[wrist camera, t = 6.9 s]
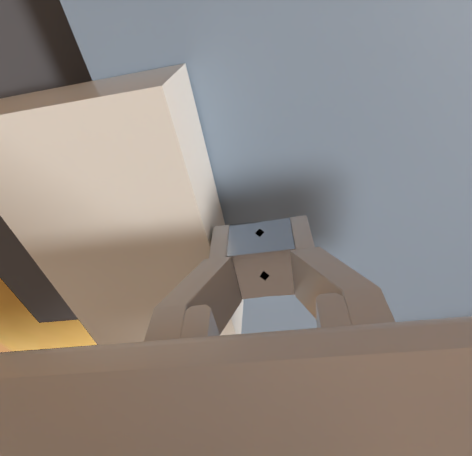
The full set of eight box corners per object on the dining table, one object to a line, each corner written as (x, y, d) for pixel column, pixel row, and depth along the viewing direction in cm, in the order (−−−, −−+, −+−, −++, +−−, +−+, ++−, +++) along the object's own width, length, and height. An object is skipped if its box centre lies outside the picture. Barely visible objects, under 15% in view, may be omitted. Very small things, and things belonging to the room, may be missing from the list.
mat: (-203, 21, 11) (-220, 23, 10) (65, -44, 10) (57, -46, 9) (43, 315, 20) (39, 322, 20) (195, 302, 19) (193, 309, 19)
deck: (46, -147, 8) (-19, -190, 6) (780, -361, 6) (1028, -525, 4) (210, 322, 20) (206, 359, 18) (485, 301, 18) (514, 340, 16)
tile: (0, 98, 10) (-67, 127, 8) (185, 63, 9) (161, 85, 7) (124, 306, 16) (103, 352, 14) (243, 299, 15) (239, 348, 13)
